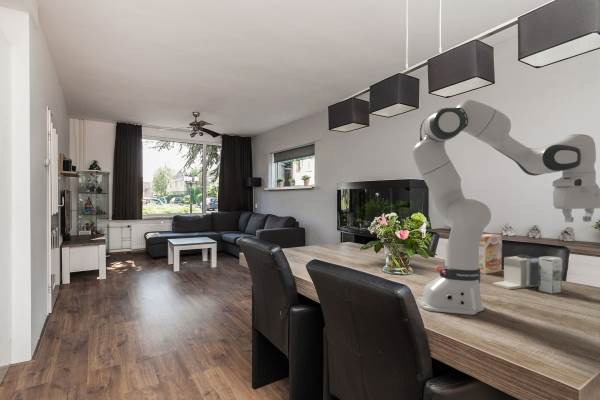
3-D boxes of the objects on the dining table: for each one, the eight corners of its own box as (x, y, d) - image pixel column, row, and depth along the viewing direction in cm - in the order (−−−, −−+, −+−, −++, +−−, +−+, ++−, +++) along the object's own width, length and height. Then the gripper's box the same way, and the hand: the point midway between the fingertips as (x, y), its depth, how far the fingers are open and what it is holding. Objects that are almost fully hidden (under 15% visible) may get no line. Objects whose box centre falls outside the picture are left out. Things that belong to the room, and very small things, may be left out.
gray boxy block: (548, 283, 144) (548, 257, 144) (529, 285, 140) (529, 259, 140) (525, 277, 154) (525, 254, 153) (506, 279, 150) (507, 255, 149)
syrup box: (547, 289, 142) (547, 255, 141) (562, 293, 136) (562, 258, 136) (538, 290, 140) (538, 256, 140) (552, 294, 134) (552, 258, 134)
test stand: (550, 284, 150) (550, 257, 150) (509, 289, 141) (509, 260, 141) (533, 279, 157) (533, 254, 157) (492, 284, 149) (492, 257, 149)
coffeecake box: (485, 274, 169) (485, 236, 169) (472, 271, 175) (472, 235, 175) (502, 271, 176) (502, 234, 176) (489, 268, 183) (489, 233, 183)
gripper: (587, 182, 120) (587, 220, 120) (549, 181, 113) (548, 222, 113) (608, 182, 114) (608, 221, 114) (569, 181, 107) (568, 223, 108)
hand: (578, 221), depth 114 cm, fingers open, 8 cm apart
